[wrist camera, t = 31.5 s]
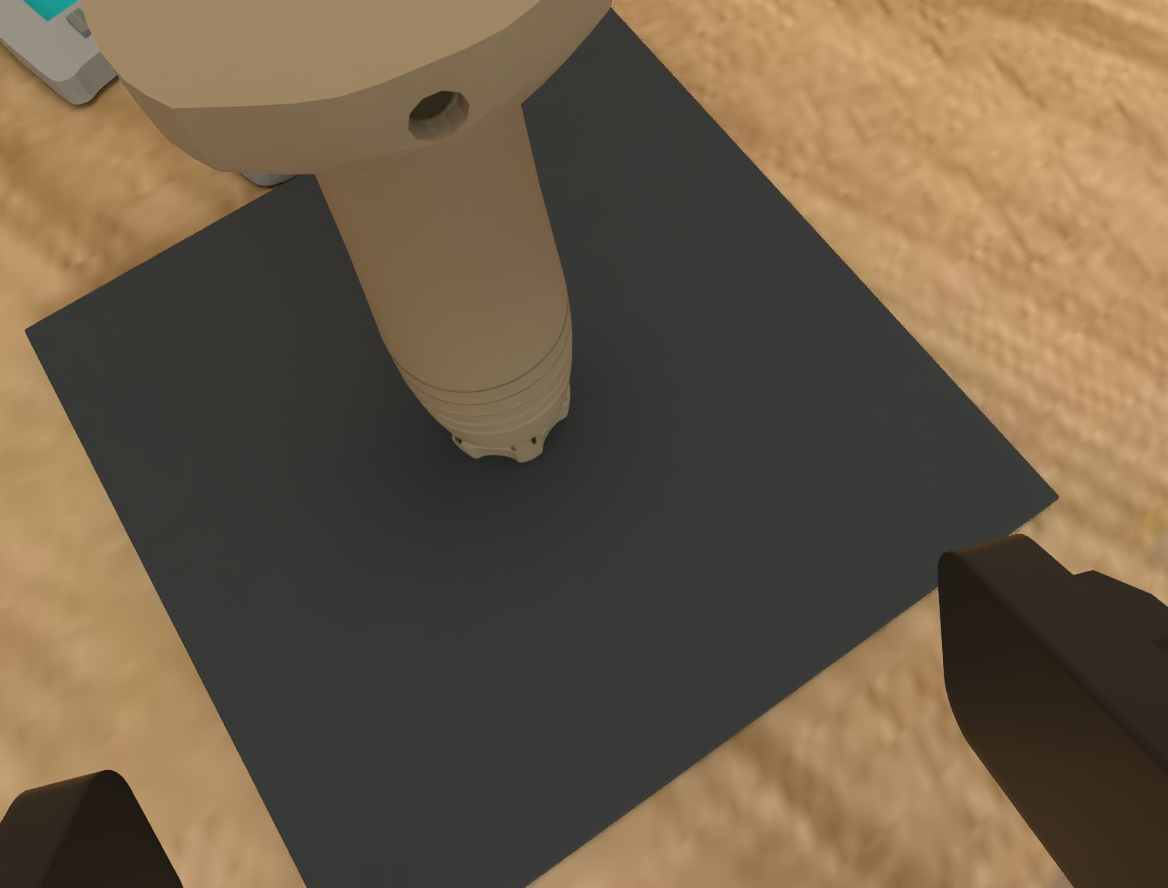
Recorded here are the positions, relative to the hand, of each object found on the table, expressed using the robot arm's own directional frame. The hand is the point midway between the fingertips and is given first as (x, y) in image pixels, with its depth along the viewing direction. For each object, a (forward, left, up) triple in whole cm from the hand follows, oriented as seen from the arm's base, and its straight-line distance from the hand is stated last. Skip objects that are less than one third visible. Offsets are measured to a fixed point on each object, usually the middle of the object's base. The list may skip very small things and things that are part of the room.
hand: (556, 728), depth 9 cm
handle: (+9, -3, -14) cm, 17 cm away
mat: (+9, -3, -14) cm, 17 cm away
